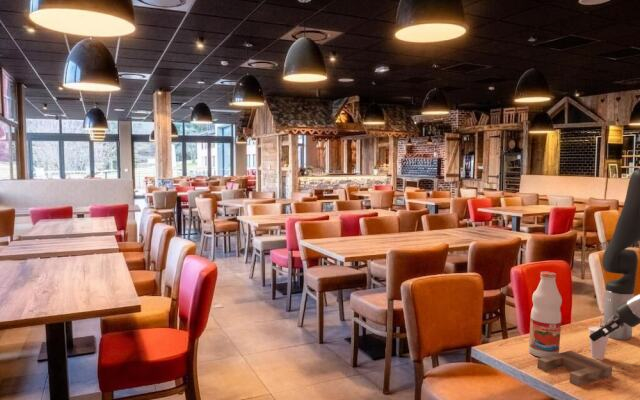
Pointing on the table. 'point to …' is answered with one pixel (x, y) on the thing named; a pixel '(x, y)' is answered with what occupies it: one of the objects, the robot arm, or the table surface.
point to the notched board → (576, 367)
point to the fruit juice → (545, 317)
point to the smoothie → (598, 343)
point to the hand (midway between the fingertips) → (594, 335)
